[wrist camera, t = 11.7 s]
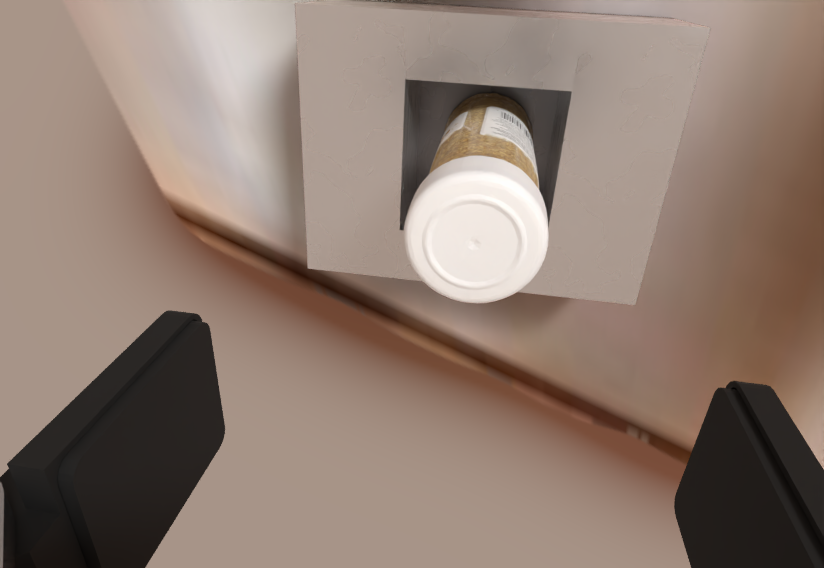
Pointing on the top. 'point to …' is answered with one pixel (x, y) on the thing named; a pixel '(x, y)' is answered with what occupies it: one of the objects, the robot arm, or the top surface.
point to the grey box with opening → (505, 75)
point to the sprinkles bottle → (479, 206)
